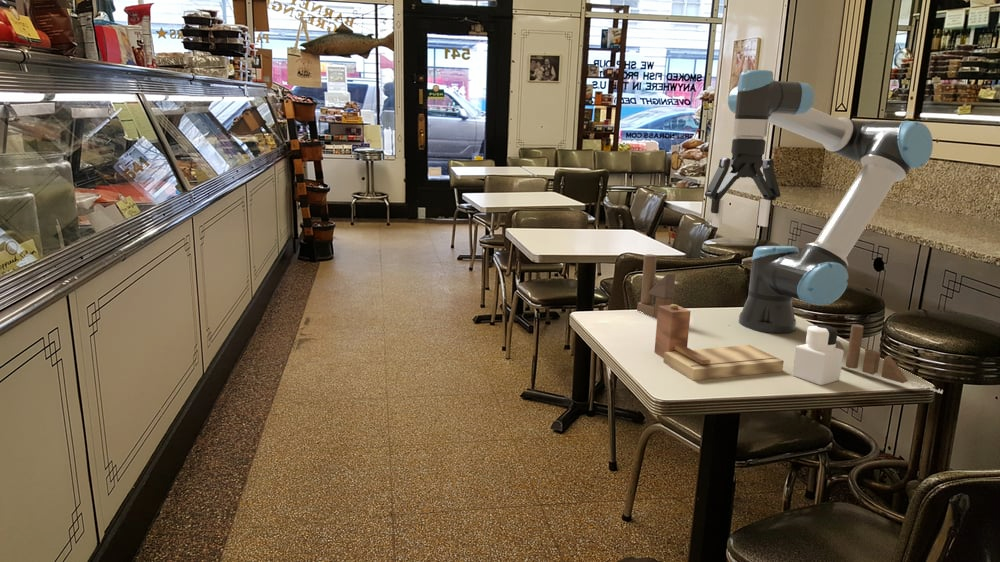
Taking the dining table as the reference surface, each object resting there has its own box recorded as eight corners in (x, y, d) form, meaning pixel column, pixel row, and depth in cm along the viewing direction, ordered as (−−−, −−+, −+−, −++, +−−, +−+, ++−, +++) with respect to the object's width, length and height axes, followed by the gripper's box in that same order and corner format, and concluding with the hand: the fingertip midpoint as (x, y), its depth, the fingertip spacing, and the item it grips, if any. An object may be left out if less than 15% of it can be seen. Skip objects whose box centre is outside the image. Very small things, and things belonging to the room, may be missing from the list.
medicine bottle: (810, 370, 158) (817, 320, 155) (840, 380, 152) (847, 328, 149) (791, 375, 154) (798, 324, 152) (821, 386, 148) (828, 333, 146)
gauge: (672, 351, 168) (676, 301, 166) (714, 375, 153) (720, 320, 150) (654, 353, 167) (658, 302, 164) (695, 377, 151) (700, 321, 148)
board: (748, 354, 168) (749, 344, 167) (782, 371, 157) (783, 360, 156) (663, 362, 160) (664, 351, 160) (693, 380, 149) (694, 369, 149)
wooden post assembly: (662, 323, 193) (668, 260, 189) (636, 314, 202) (640, 254, 198) (672, 321, 195) (677, 260, 191) (645, 312, 204) (650, 253, 200)
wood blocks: (825, 362, 165) (831, 320, 162) (831, 360, 166) (837, 319, 164) (939, 395, 145) (947, 349, 143) (944, 393, 147) (953, 347, 144)
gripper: (780, 138, 170) (770, 223, 175) (695, 136, 162) (687, 225, 167) (802, 139, 163) (791, 227, 168) (714, 137, 155) (705, 229, 160)
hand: (739, 226), depth 167 cm, fingers open, 13 cm apart
